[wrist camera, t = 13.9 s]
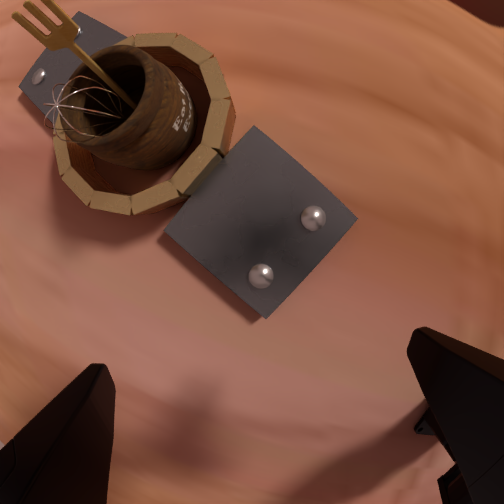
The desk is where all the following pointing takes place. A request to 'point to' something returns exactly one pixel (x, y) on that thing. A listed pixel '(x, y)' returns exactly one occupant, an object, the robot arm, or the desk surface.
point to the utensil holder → (117, 99)
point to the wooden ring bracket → (208, 179)
